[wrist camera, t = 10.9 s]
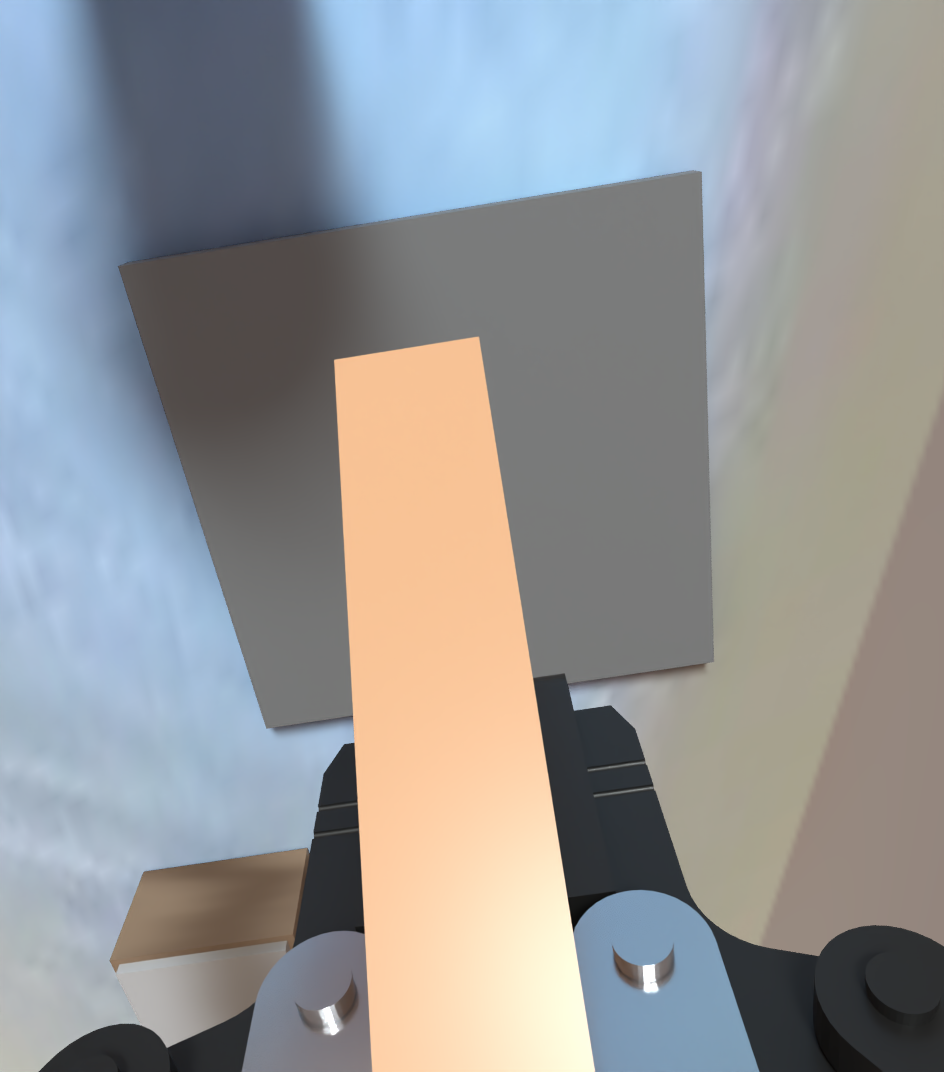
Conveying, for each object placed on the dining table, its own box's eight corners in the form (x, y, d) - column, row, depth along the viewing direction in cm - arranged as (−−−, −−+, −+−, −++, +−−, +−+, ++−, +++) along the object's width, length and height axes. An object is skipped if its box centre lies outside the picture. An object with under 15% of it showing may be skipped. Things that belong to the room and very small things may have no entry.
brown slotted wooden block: (248, 1107, 31) (228, 1213, 28) (143, 871, 25) (105, 970, 22) (584, 1061, 30) (601, 1162, 27) (548, 812, 25) (565, 905, 22)
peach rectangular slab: (500, 1144, 13) (391, 1430, 5) (446, 651, 17) (334, 360, 9) (597, 1131, 13) (646, 1401, 5) (521, 640, 17) (478, 336, 9)
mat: (270, 714, 23) (266, 728, 22) (127, 262, 18) (118, 266, 17) (707, 649, 23) (713, 661, 22) (692, 170, 17) (701, 171, 17)
